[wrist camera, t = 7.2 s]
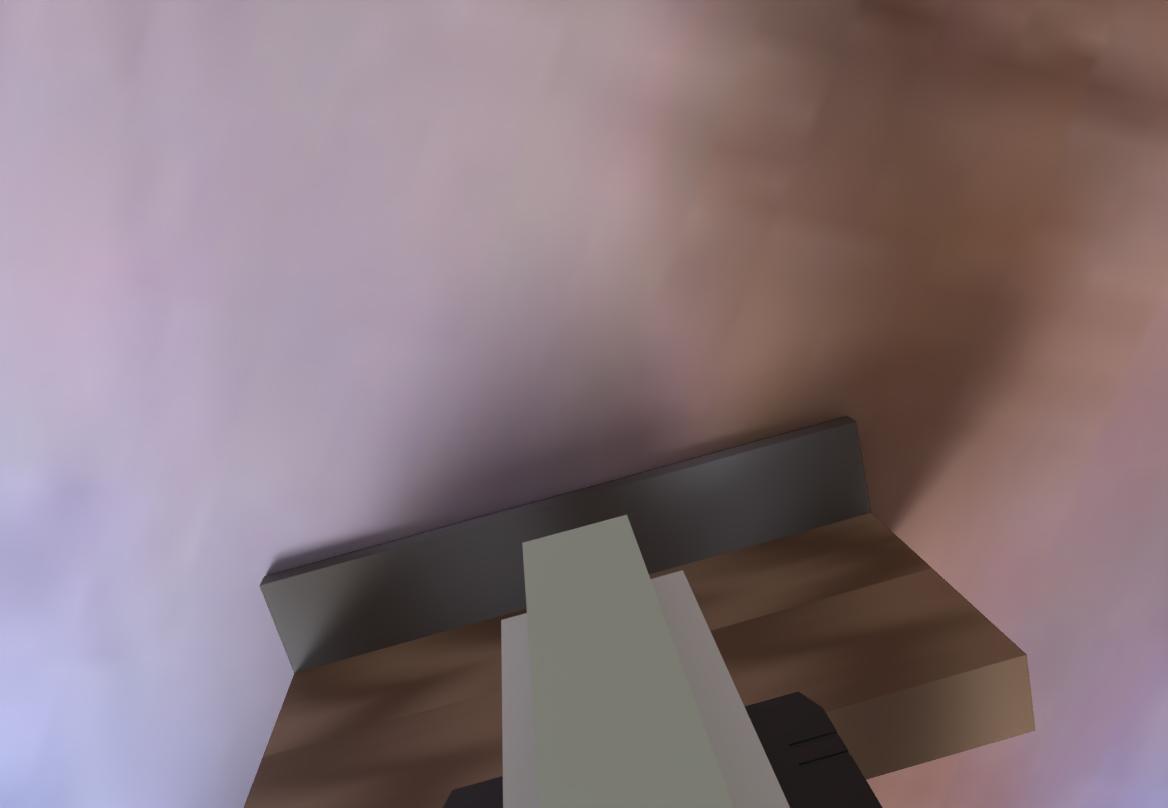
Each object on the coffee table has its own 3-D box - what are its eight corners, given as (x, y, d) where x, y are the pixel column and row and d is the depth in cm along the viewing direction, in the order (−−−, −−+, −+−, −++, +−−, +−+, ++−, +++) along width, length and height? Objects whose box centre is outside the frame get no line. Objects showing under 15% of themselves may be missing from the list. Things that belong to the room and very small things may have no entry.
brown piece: (350, 793, 28) (293, 1057, 20) (264, 576, 26) (159, 772, 17) (885, 641, 29) (1047, 836, 20) (847, 416, 26) (1012, 531, 18)
